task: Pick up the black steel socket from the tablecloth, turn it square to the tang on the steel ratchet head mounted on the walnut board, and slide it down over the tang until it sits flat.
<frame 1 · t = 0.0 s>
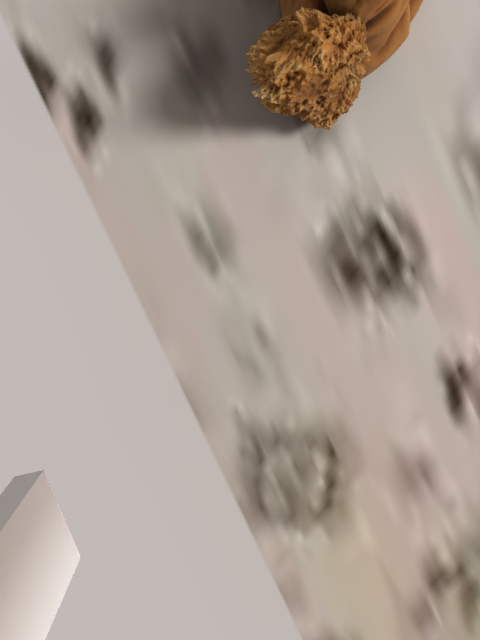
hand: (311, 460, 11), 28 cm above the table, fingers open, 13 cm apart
stuffed squirrel: (326, 44, 33), on the table
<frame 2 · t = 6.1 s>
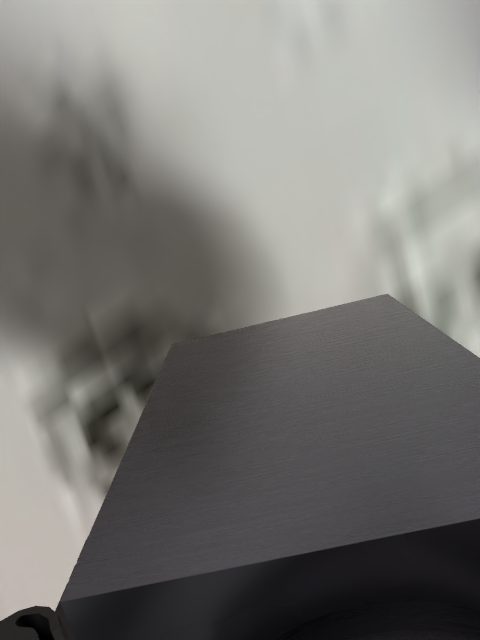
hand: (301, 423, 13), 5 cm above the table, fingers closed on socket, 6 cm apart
socket: (300, 416, 13), point 5 cm above the table, touching gripper
when the fingers open (3 cm above the table, at t = 10.7 s): socket stays where it is, resting on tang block.
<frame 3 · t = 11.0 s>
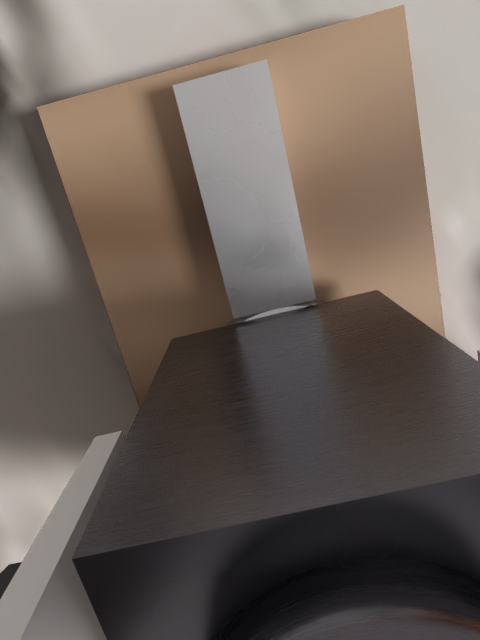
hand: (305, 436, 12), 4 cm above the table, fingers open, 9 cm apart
socket: (294, 407, 13), point 2 cm above the table, touching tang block
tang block: (288, 375, 16), on the table
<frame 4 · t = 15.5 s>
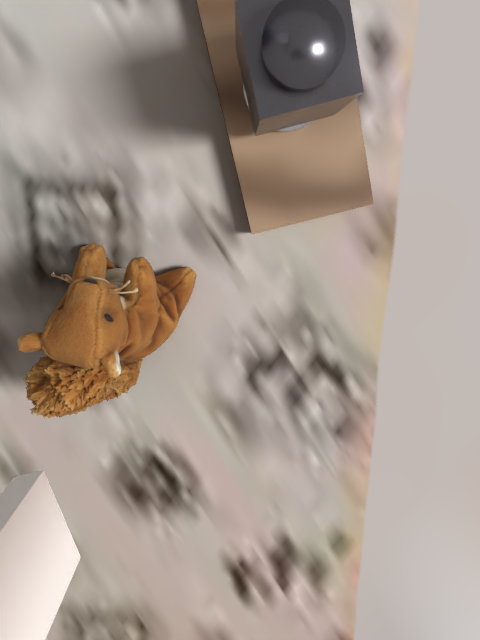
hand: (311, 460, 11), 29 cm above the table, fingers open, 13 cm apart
stuffed squirrel: (124, 317, 40), on the table
socket: (285, 82, 32), point 2 cm above the table, touching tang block
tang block: (283, 90, 35), on the table
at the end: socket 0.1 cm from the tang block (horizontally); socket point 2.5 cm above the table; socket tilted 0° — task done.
